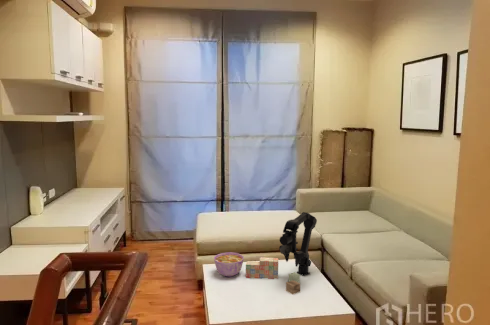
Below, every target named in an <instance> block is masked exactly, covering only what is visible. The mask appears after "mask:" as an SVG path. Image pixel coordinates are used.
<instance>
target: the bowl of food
mask: <svg viewBox="0 0 490 325" xmlns="http://www.w3.org/2000/svg"><path fill="white" fill-rule="evenodd" d="M213 260H214V265H215V267H216V271H217V272H218V273H219V274H220V275H222V276H224V277H228V278H229V277H234V276H235V275H237V274H239V273H240V272H241V270H242V267H243V264H244V263H243V262H244V260H245V259H244V256H243V254H240V253H238V252H231V251H229V252H221V253H218V254H215V256H214V257H213Z"/></svg>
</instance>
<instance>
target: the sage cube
mask: <svg viewBox="0 0 490 325" xmlns="http://www.w3.org/2000/svg"><path fill="white" fill-rule="evenodd" d="M300 278H301V274H299V273H297V272H296V271H295V272H290V273H288V282H289V281H292V280H294V281H296V282H298V283H300V282H301V280H300Z"/></svg>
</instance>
